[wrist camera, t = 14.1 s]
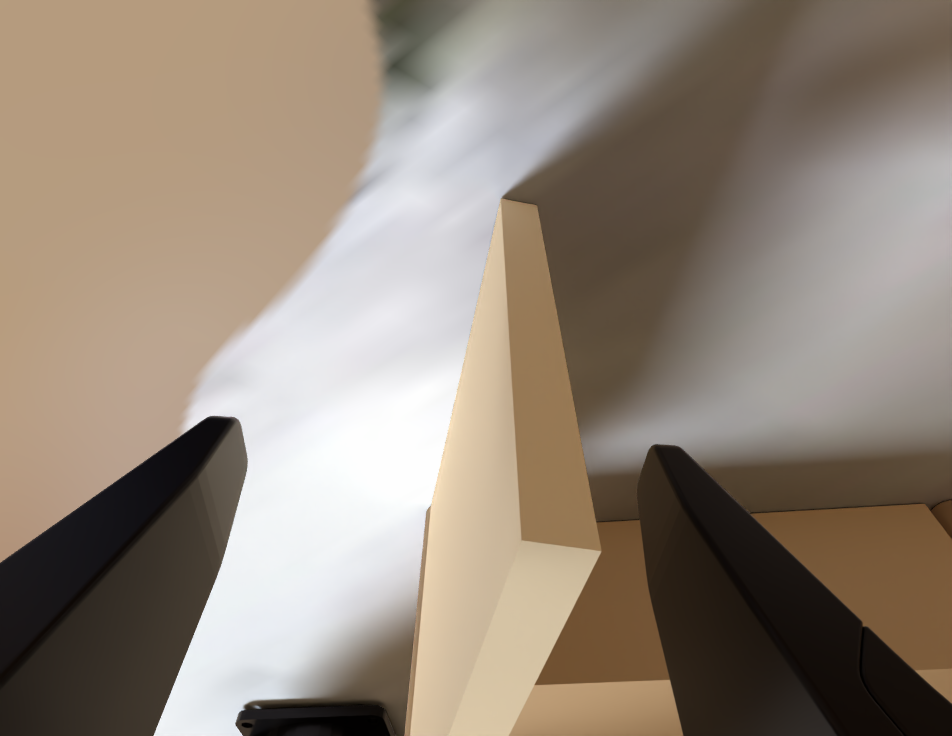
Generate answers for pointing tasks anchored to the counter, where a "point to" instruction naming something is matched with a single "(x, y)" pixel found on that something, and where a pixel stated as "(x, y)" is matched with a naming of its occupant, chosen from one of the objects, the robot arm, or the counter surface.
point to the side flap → (502, 505)
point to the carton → (813, 543)
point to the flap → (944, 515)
